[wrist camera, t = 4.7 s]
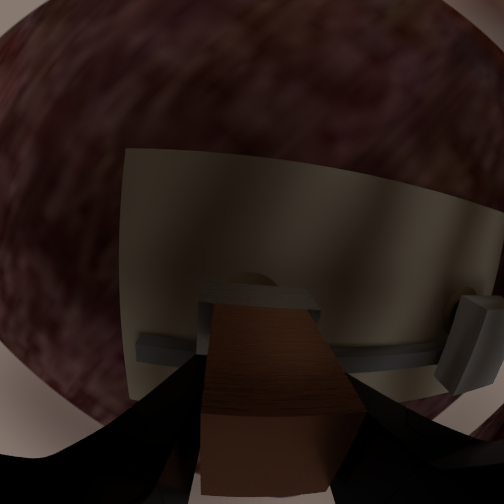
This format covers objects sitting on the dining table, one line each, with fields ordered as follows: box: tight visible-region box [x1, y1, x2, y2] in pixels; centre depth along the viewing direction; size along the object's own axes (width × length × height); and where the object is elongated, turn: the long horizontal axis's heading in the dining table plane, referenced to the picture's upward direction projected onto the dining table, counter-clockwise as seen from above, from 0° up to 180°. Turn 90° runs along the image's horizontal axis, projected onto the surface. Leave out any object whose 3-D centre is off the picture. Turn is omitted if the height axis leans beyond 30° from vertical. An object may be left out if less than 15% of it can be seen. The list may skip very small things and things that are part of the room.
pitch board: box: [119, 148, 504, 403], centre depth 13 cm, size 22×13×5 cm, turn 84°
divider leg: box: [196, 280, 367, 497], centre depth 9 cm, size 4×5×8 cm
